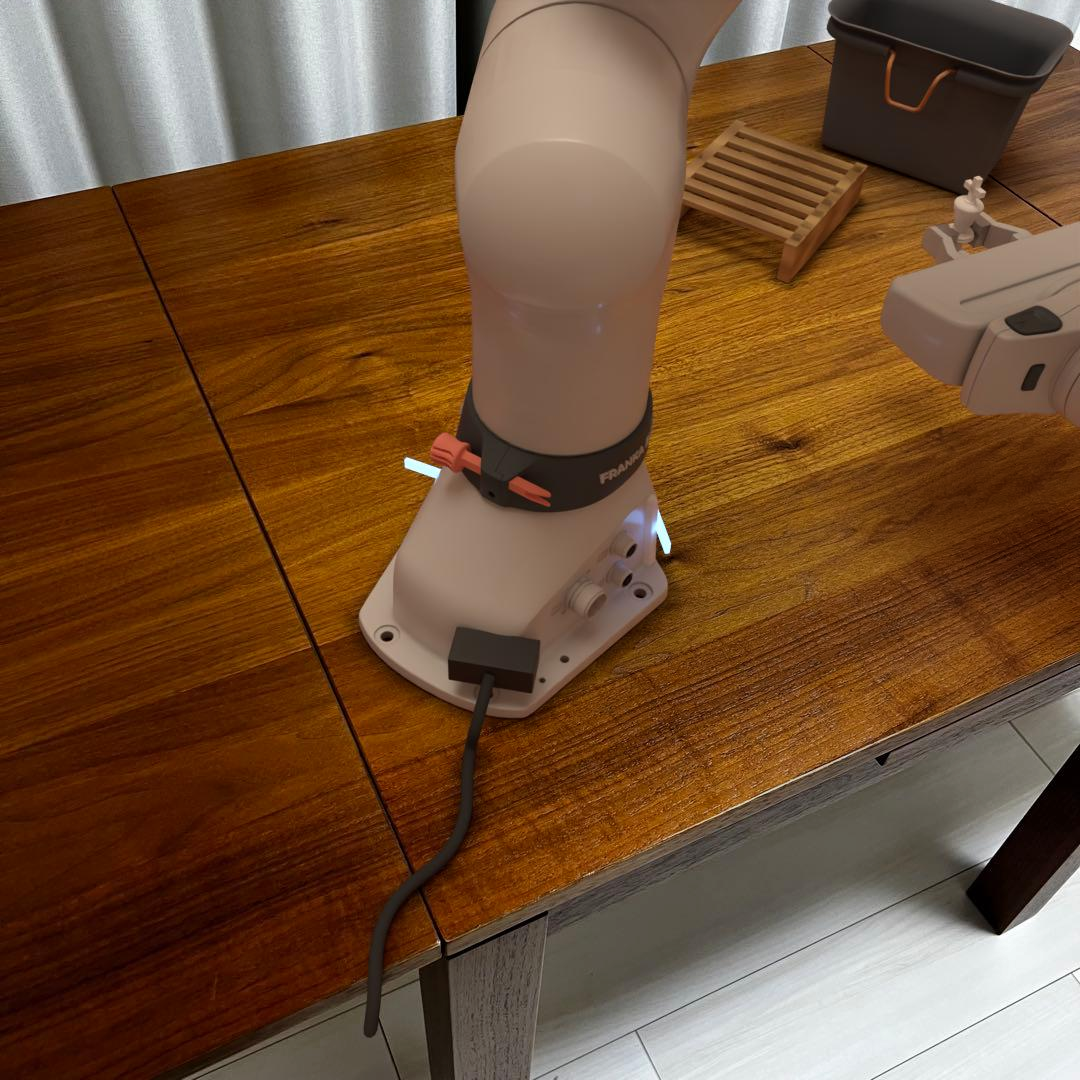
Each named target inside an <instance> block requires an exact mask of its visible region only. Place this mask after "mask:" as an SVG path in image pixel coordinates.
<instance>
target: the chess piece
mask: <svg viewBox="0 0 1080 1080" xmlns="http://www.w3.org/2000/svg"><path fill="white" fill-rule="evenodd" d="M982 181H983V179H982V178H981V177H980V176H976V177H974V179H973V181H972V180H971V179H969V180H965V183H964V187H965V188H966V189H968V190H969V193H968V195H963V194H962V195H959V196H957V197H956V198H955V199H954V201H953V222H951V223H947V224H948V225H949V227H950V228H953V229H954V230H956V231H957V232H958V233H959V236H958V239H957V242H956V243H955V244H954V246H955V248H956V251H957V252H958V251H960V250H962V248H963V244H968V242H971V241H972V240H973V238H974V232H973V230H972V229H971V228H970V226H971V224H972V223H973V222H974V220H975V219H976V218H977V217H978V216H979V215H980V213H981V212H984V209H985V204H984V203H983V201H982V200H981V199H984V198H985V196H986V194H987V191H986V190H985V189H983V188H982V185H983V184H982ZM981 184H982V185H981Z"/></svg>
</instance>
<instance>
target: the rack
mask: <svg viewBox="0 0 1080 1080" xmlns="http://www.w3.org/2000/svg"><path fill="white" fill-rule="evenodd" d="M868 167H869V165H867V164H865V163H861V162H858V161H857V162H855V163H854V164H853V163H850V162H848V161H845V160H842V159H839V158H837V157H834V156H830V155H829V154H825V153H823V152H819V151H817V150H815V149H814V150H813V149H811V148H808V147H804V146H803V145H799V144H796V143H793V142H790V141H788V140H784V139H782V138H780V137H777V136H774V135H771V134H768V133H765V132H761V131H759V130H756V129H754V128H751V127H748V123H747V122H744V121H742V120H739V119H735V120H734V121H733V122H732V123H731V124H730V125H729V126H728V127H727V128H726V129H724V131H723V132H722V133H720V134H719V135H718V136H717V137H716V138H715V139H714V140H713V141H712V142H711V143H710V144H708V145H707V147H705V148H704V149H703V150H702V151H701V152H700V153H699V154H698V155H697V156H695V157H694V158H693V159H692V160H691V161H690V162H689V163H688V164H686V181H685V188H684V194H683V200H682V206H681V211H680V217H679V220H680V219H681V218H682V217H683V216H684V215H685V214H686V213H687V212H689V211H690V209H691V208H692V209H694V210H697V211H700V212H703V213H705V214H708V215H711V216H713V217H716V218H719V219H721V220H724V221H726V222H728V223H731V224H734V225H737V226H739V227H741V228H744V229H747V230H750V231H753V232H755V233H758V234H760V235H763V236H766V237H768V238H771V239H772V240H775V241H779V242H781V243H784V244H783V249H782V253H781V256H780V262H779V266H778V271H777V275H776V280H778V281H781V282H783V283H786V284H789V283H790V282H791V281H792V280H793V279H794V278H795V276H796V275H797V274H798V273H799V271H800V270H802V268H803V267H804V266H805V265H806V264H807V262H808V261H809V260H810V259H811V257H813V256H814V254H816V252H817V251H818V249H819V248H820V247H821V246H822V245H823V243H824V242H825V241H826V240H827V239H828V238H829V237H830V236H831V235H832V233H833V232H835V231H834V230H836V228H837V227H839V225H840V224H841V223H842V221H843V220H844V219H845V218H846V217H847V216H848V214H849V213H850V212H851V211H852V210H853V209H854V208H855V206H856V205H857V204H858V203H859V201H860V196H861V193H862V189H863V186H864V182H865V178H866V176H867V175H866V174H867V171H868ZM704 197H705V198H704ZM707 198H708V199H707ZM718 202H719V203H718ZM739 210H740V211H739ZM786 228H787V229H786Z"/></svg>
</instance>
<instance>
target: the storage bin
mask: <svg viewBox="0 0 1080 1080" xmlns="http://www.w3.org/2000/svg"><path fill="white" fill-rule="evenodd" d="M827 10H828V13H829V15H830V16H829V18H828V20H827V24H826V31H827V33H828V35H829V36H830V37H831V38H833V39H834V40H835V41H834V42H835V43H834V49H833V55H832V62H831V63H832V64H831V70H830V77H829V82H828V83H829V84H828V90H827V97H826V102H825V110H824V116H823V122H822V130H821V136H820V141H821V143H822V144H823V145H824V146H826V147H827V148H830V149H833V150H836V151H838V152H841V153H844V154H847V155H850V156H853V157H855V158H858V159H862V160H864V161H867V162H871V163H874V164H876V165H879V166H881V167H884V168H888V169H890V170H893V171H896V172H899V173H902V174H905V175H908V176H911V177H913V178H916V179H917V180H921V181H924V182H926V183H930V184H932V185H935V186H937V187H941V188H943V189H946V190H949V191H951V192H954V193H957V194H960V195H962V196H963V195H968V193H969V190H968V189H966V188H965V187H964V183H965V180H969V179H971V180H972V181H973V179H974V177H976V176H980V177H981V178H982V179H983V181H982V184H981V186H982V185H983V184H984V182H985V181H986V179H987V178H988V176H989V175H990V173H991V172H992V171H993V170H994V168H995V167H996V166H997V164H998V163H999V161H1000V159H1001V157H1002V155H1003V153H1004V151H1005V150H1006V147H1007V145H1008V143H1009V141H1010V140H1011V137H1012V135H1013V133H1014V131H1015V129H1016V127H1017V125H1018V123H1019V120H1020V119H1021V117H1022V115H1023V113H1024V110H1025V109H1026V106H1027V104H1028V103H1029V101H1030V99H1031V97H1032V96H1033V95H1034V94H1036V93H1038V92H1039V91H1040V90H1041V89H1042V87H1043V86H1044V84H1045V83H1046V82H1047V80H1048V79H1049V78H1050V77H1051V75H1052V74H1053V72H1054V71H1055V70H1056V68H1057V67H1058V66H1059V65H1060V63H1061V62H1062V60H1063V58H1064V55H1065V52H1066V51H1067V49H1068V48H1069V47H1070V45H1071V44H1072V42H1073V40H1074V38H1075V37H1074V32H1073V31H1072V29H1070V27H1068V26H1067V25H1066V24H1064V23H1062V22H1060V21H1057V20H1055V19H1052V18H1049V17H1047V16H1043V15H1039V14H1037V13H1033V12H1030V11H1027V10H1024V9H1021V8H1019V7H1018V8H1017V7H1014V6H1011V5H1008V4H1004V3H1001V2H998V1H995V0H830V1H829V3H828V5H827Z"/></svg>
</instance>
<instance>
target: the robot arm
mask: <svg viewBox="0 0 1080 1080" xmlns="http://www.w3.org/2000/svg"><path fill="white" fill-rule="evenodd" d="M742 1H743V0H495V2H494V4H493V7H492V10H491V12H490V15H489V19H488V22H487V26H486V30H485V33H484V38H483V41H482V45H481V49H480V53H479V57H478V61H477V65H476V69H475V72H474V76H473V80H472V84H471V87H470V91H469V95H468V99H467V103H466V106H465V111H464V114H463V118H462V122H461V126H460V128H459V133H458V137H457V141H456V144H455V151H454V192H455V194H454V195H455V205H456V206H455V207H456V216H457V217H456V218H457V222H458V223H457V224H458V233H459V239H460V242H461V248H462V253H463V259H464V264H465V269H466V272H467V278H468V283H469V290H470V291H469V292H470V302H471V303H470V304H471V373H472V374H471V377H470V380H469V381H468V385H467V389H466V392H465V396H464V397H463V402H461V406H460V410H459V414H458V415H459V416H460V417H459V421H458V424H457V428H456V429H457V430H456V433H455V436H453V435H452V434H450V433H448V432H441V433H440V434H439V435H438V436H437V437H436V438H435V439H434V441H433V443H432V446H431V448H430V451H429V458H430V461H431V462H433V463H434V464H436V465H439V466H442V467H440V468H438V467H435V466H433V465H431V464H427V463H424V462H421V461H418V460H415V459H413V458H410V457H405V458H404V468H405V469H408V470H411V471H414V472H417V473H419V474H423V475H425V476H428V477H431V478H434V481H433V483H432V485H431V487H430V489H429V491H428V492H427V494H426V496H425V499H424V500H423V502H422V504H421V506H420V508H419V510H418V512H417V513H416V515H415V517H414V519H413V521H412V523H411V525H410V527H409V529H408V531H407V532H406V535H405V536H404V539H403V541H402V542H401V544H400V546H399V548H397V549H398V550H397V551H396V553H395V554H394V556H393V557H392V558H391V560H390V562H389V563H388V564H387V567H386V569H385V570H384V572H383V573H382V574H381V576H380V578H379V579H378V581H377V582H376V584H375V585H374V587H373V589H372V590H371V592H370V593H369V595H368V596H367V598H366V599H365V602H364V603H363V605H362V606H361V608H360V610H359V613H358V626H359V628H360V631H361V633H362V635H363V638H364V639H365V640H366V642H367V644H368V645H369V647H370V648H371V649H372V650H373V652H374V653H375V654H376V655H377V656H378V657H379V658H380V659H381V660H382V661H383V662H384V663H385V664H387V666H389V667H390V668H391V669H393V670H394V671H395V672H396V673H398V674H399V675H400V676H402V677H403V678H405V679H406V680H408V681H409V682H411V683H413V684H414V685H415V686H417V687H419V688H420V689H422V690H424V691H425V692H427V693H430V694H432V695H433V696H434V697H437V698H438V699H441V700H442V701H445V702H447V703H449V704H451V705H454V706H456V707H459V708H462V709H464V710H467V711H470V712H472V716H471V720H470V723H469V727H468V731H467V733H466V734H467V735H466V738H465V744H464V750H463V755H462V761H461V775H460V803H459V811H458V815H457V820H456V823H455V826H454V828H453V830H452V833H451V835H450V837H449V838H448V840H447V842H446V843H445V845H444V846H443V847H442V849H441V850H439V852H438V853H437V854H436V855H435V856H434V857H433V858H431V859H430V860H429V861H428V862H427V863H426V864H424V865H423V866H421V867H420V868H419V869H418V870H416V871H415V872H414V873H413V874H412V875H411V876H409V877H408V878H407V879H406V880H405V881H404V882H402V884H400V885H399V887H398V888H396V890H395V891H394V892H393V893H392V895H391V896H390V897H389V899H387V901H386V903H385V905H384V906H383V908H382V910H381V912H380V914H379V916H378V919H377V921H376V924H375V927H374V930H373V933H372V936H371V940H370V946H369V953H368V968H367V990H366V992H367V993H366V1005H365V1013H364V1019H363V1020H364V1022H363V1028H362V1029H363V1036H365V1038H366V1039H367V1038H368V1039H372V1038H373V1037H375V1036H376V1034H377V1032H378V1030H379V1022H380V1013H381V1004H382V989H383V960H384V949H385V944H386V939H387V933H388V932H389V928H390V925H391V923H392V920H393V918H394V916H395V915H396V914H397V911H398V910H399V908H400V907H401V905H402V904H403V903H404V902H405V901H406V900H407V898H408V897H409V896H411V894H412V893H414V892H415V891H416V890H417V889H418V888H419V887H421V886H422V885H423V884H424V883H426V882H427V881H428V880H429V879H430V878H432V877H434V875H435V874H436V873H438V872H439V871H440V870H441V869H442V868H443V867H444V866H446V865H447V863H448V862H449V861H450V860H451V859H452V858H453V856H455V854H456V853H457V851H458V850H459V848H460V846H461V844H462V843H463V841H464V839H465V836H466V833H467V831H468V828H469V825H470V823H471V818H472V813H473V806H474V805H473V804H474V775H475V774H474V773H475V762H476V756H477V750H478V744H479V741H480V737H481V734H482V730H483V727H484V726H483V725H484V722H485V717H486V716H487V717H488V716H489V717H495V718H501V719H502V718H503V719H505V718H506V719H523V718H526V717H529V716H530V715H531V714H533V713H534V712H535V711H537V710H538V709H539V708H540V707H542V706H543V705H544V704H546V702H548V701H549V700H550V699H551V698H552V697H554V695H556V694H557V693H558V692H559V691H560V690H562V689H563V688H564V687H565V686H566V685H568V684H569V683H570V682H571V681H572V680H573V679H575V678H576V677H577V676H578V675H580V673H581V672H583V671H584V670H585V669H586V668H587V667H589V666H590V665H591V664H592V663H593V662H595V661H596V660H597V659H598V658H599V657H600V656H601V655H603V654H604V653H605V652H606V651H607V650H609V649H610V648H611V647H612V646H613V645H614V644H616V643H617V642H618V641H619V640H620V639H621V638H623V637H624V636H625V635H626V634H627V633H629V632H630V630H632V629H633V628H634V627H635V626H637V625H638V624H639V623H640V622H642V620H644V619H645V618H646V617H648V615H649V614H651V613H652V612H653V611H654V610H655V609H656V608H658V607H659V606H660V605H661V604H662V603H664V601H665V600H667V597H668V594H669V584H668V582H669V581H668V578H667V576H666V574H665V572H664V570H663V569H662V566H661V565H660V564H659V562H658V560H657V558H656V556H657V555H656V553H657V541H658V540H657V539H658V538H659V541H660V544H661V546H662V549H663V552H664V554H666V555H667V554H670V551H671V545H672V543H671V540H670V537H669V535H668V531H667V529H666V526H665V523H664V521H663V518H662V516H661V513H660V511H659V499H658V495H657V493H656V490H655V487H654V484H653V482H652V479H651V476H650V473H649V469H648V466H647V462H646V456H647V453H648V449H649V445H650V441H651V436H652V433H653V427H654V399H653V398H654V397H653V392H652V390H651V387H650V384H651V383H650V382H651V377H652V370H653V363H654V356H655V347H656V340H657V333H658V326H659V319H660V313H661V307H662V302H663V298H664V295H665V290H666V286H667V283H668V277H669V273H670V269H671V264H672V259H673V253H674V250H675V244H676V239H677V233H678V227H679V222H680V219H679V217H680V211H681V206H682V200H683V194H684V188H685V181H686V166H687V150H688V149H687V148H688V147H687V144H688V115H689V107H690V102H691V97H692V94H693V90H694V87H695V84H696V79H697V77H698V76H697V75H698V72H699V70H700V67H701V65H702V62H703V61H704V58H705V55H706V54H707V52H708V50H709V48H710V46H711V45H712V43H713V41H714V40H715V38H716V37H717V35H718V33H719V32H720V30H721V29H722V27H724V25H725V24H726V22H727V21H728V20H729V18H730V17H731V15H732V14H733V13H734V12H735V10H736V9H737V8H738V7H739V6H740V4H741V3H742ZM948 224H949V223H947V222H942V223H939V224H935V225H932V226H928V227H927V228H925V230H924V232H923V236H922V239H921V247H922V249H923V250H924V251H925V252H926V253H927V254H928V255H929V256H930V257H932V258H933V259H934V265H931V266H929V267H926V268H923V269H919V270H916V271H913V272H910V273H906V274H903V275H899V276H897V277H895V278H893V279H892V281H890V284H889V286H888V289H887V291H886V294H885V298H884V300H883V304H882V307H881V310H880V319H879V320H880V327H881V330H882V332H883V334H885V336H886V337H887V338H888V339H889V340H890V342H892V343H893V344H894V345H895V346H896V348H898V349H899V350H900V351H901V352H902V353H903V354H904V355H905V356H906V357H907V358H908V359H909V360H911V361H912V362H913V363H914V364H916V365H917V366H918V367H919V368H920V369H922V370H923V371H924V372H925V373H927V374H928V375H929V376H930V377H932V378H934V379H935V380H937V381H939V382H941V383H943V384H946V385H948V386H954V387H961V389H960V393H959V396H958V399H959V402H960V403H961V404H962V406H963V407H964V408H965V409H966V410H968V411H969V412H970V413H972V414H974V415H977V416H994V415H1010V414H1038V415H1046V416H1047V415H1048V416H1049V415H1057V414H1059V415H1060V416H1062V417H1063V418H1064V419H1065V420H1066V421H1067V422H1068V423H1070V424H1071V425H1072V426H1073V427H1075V428H1076V429H1078V430H1080V220H1077V221H1074V222H1072V223H1069V224H1066V225H1063V226H1059V227H1055V228H1053V229H1050V230H1046V231H1043V232H1040V233H1037V234H1033V233H1032V232H1030V231H1029V230H1028V229H1026V228H1022V227H1018V226H1014V225H1010V224H1007V223H1004V222H1000V221H996V220H995V219H994V218H993V217H991V216H990V215H989V214H987V213H986V212H984V211H982V212H981V213H980V215H979V216H978V217H977V218H976V219H975V220H974V222H973V223H972V224H971V226H970V228H971V229H972V230H973V232H974V238H973V240H972V241H971V242H968V243H967V244H968V245H969V246H970V247H971V248H973V249H976V248H980V247H983V248H986V249H985V250H981V251H978V252H975V253H972V254H970V253H969V252H968V251H967V250H965V249H961V250H960V251H958V252H957V251H956V248H955V246H954V244H955V243H956V242H957V239H958V236H959V233H958V232H957V231H956V230H954V229H953V228H950V227H949V225H948ZM657 535H658V536H657ZM637 596H641V598H640V597H637ZM385 639H391V640H388V641H385Z"/></svg>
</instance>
